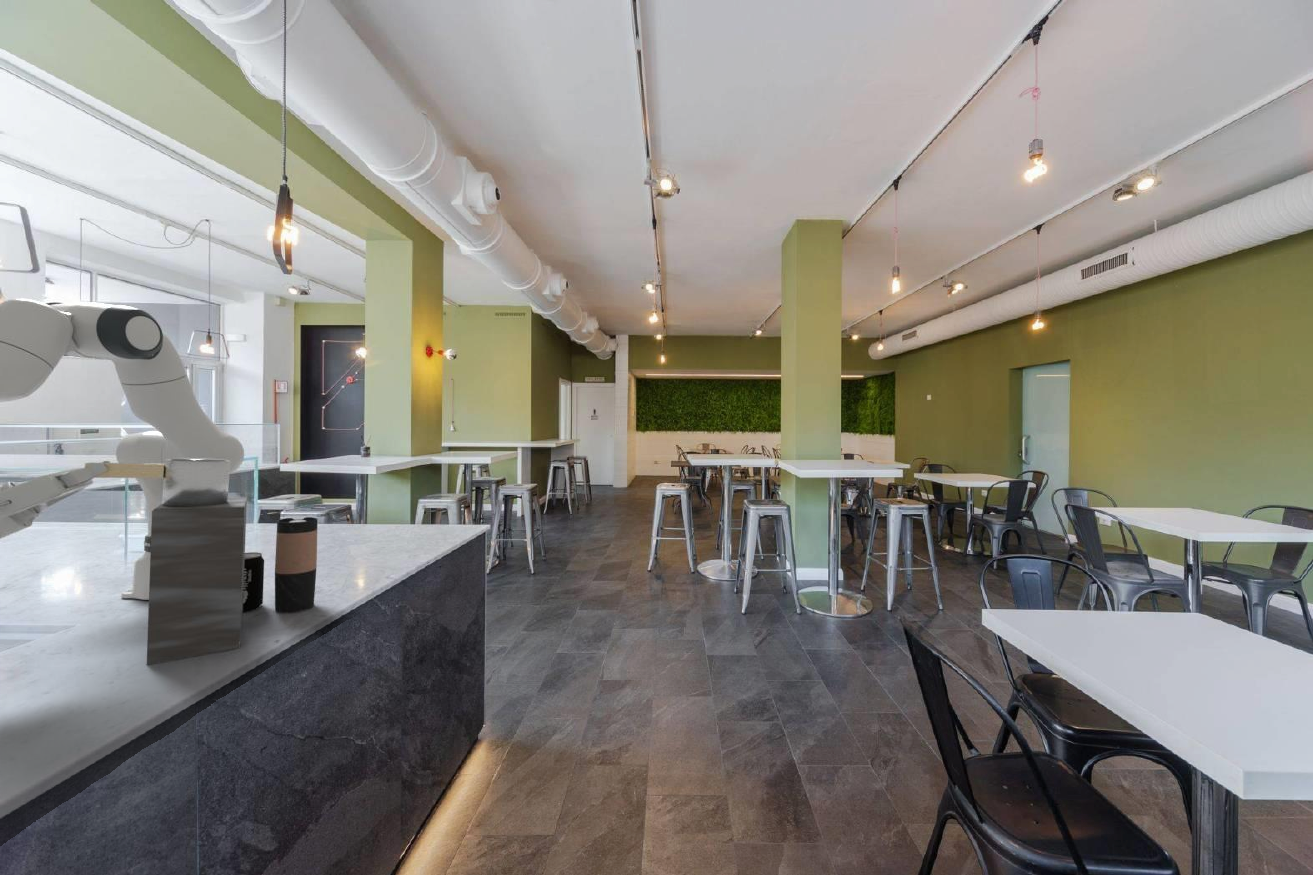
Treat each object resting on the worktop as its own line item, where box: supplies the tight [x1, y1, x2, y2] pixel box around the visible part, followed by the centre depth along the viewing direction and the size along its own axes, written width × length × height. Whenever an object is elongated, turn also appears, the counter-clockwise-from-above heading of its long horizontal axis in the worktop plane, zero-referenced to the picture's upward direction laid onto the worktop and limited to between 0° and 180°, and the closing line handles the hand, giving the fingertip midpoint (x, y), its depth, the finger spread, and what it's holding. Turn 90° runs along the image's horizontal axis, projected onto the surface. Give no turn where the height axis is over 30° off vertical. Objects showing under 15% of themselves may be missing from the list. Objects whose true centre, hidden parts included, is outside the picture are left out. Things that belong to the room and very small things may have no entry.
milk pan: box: [84, 458, 231, 506], centre depth 90 cm, size 9×18×8 cm, turn 129°
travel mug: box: [274, 516, 318, 614], centre depth 113 cm, size 8×8×20 cm
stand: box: [146, 496, 248, 666], centre depth 94 cm, size 16×12×26 cm
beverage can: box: [243, 551, 265, 613], centre depth 111 cm, size 7×7×12 cm
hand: (108, 465), depth 86 cm, fingers closed on milk pan, 3 cm apart
